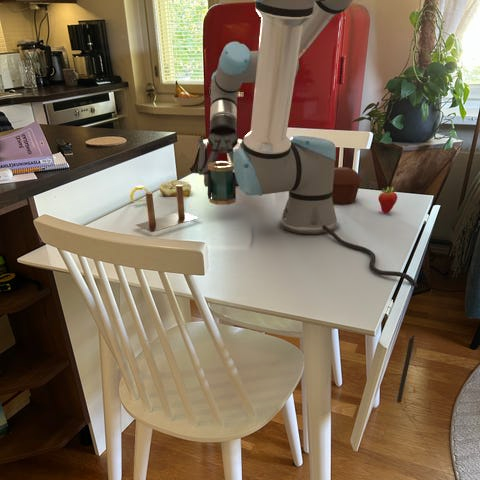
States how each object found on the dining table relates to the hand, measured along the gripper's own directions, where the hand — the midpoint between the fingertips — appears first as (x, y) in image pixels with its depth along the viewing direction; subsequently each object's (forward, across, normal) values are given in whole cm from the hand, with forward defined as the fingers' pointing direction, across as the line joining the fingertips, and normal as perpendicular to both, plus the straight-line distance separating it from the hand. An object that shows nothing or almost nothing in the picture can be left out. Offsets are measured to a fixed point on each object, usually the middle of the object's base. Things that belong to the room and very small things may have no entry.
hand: (221, 196), depth 130 cm
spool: (-1, 0, -4) cm, 4 cm away
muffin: (-10, -36, -23) cm, 44 cm away
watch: (-8, +27, -20) cm, 35 cm away
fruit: (-1, -48, -13) cm, 50 cm away
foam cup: (-26, -4, -38) cm, 46 cm away
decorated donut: (-16, +18, -28) cm, 37 cm away
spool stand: (+6, +16, -6) cm, 18 cm away
